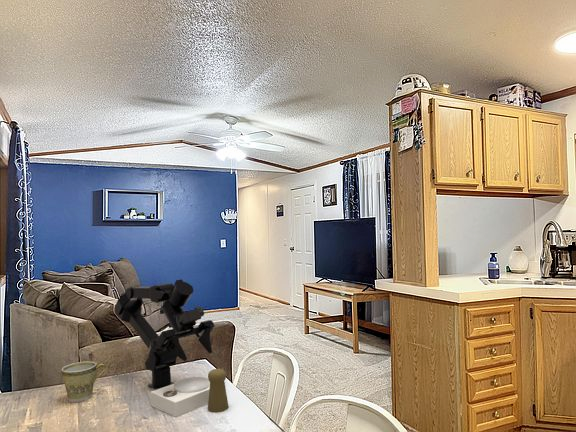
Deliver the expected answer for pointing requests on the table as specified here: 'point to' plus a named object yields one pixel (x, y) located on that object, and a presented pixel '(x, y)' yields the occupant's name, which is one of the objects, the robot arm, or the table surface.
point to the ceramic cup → (80, 380)
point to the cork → (217, 391)
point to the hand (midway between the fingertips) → (198, 356)
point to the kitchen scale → (181, 396)
